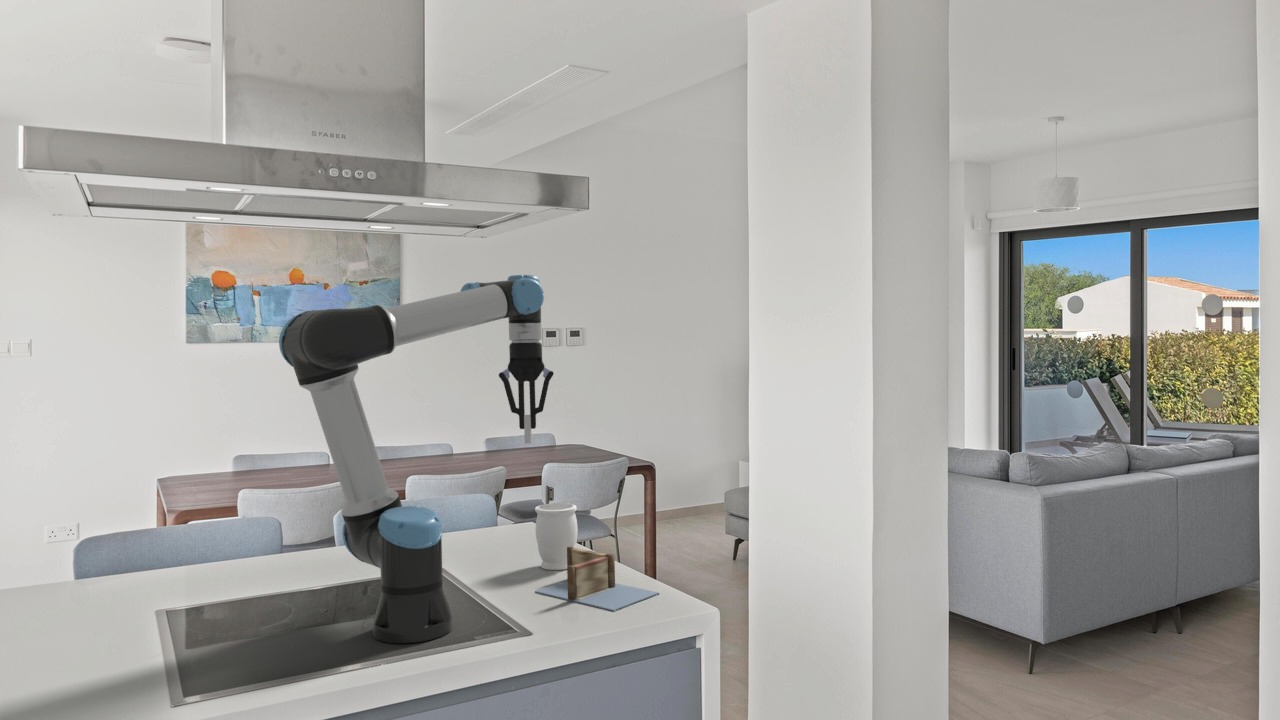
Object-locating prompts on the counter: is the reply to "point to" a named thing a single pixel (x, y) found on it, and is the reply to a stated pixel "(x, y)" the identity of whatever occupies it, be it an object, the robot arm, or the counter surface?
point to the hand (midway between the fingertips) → (528, 442)
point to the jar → (555, 533)
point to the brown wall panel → (581, 556)
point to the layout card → (602, 595)
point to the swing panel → (587, 577)
